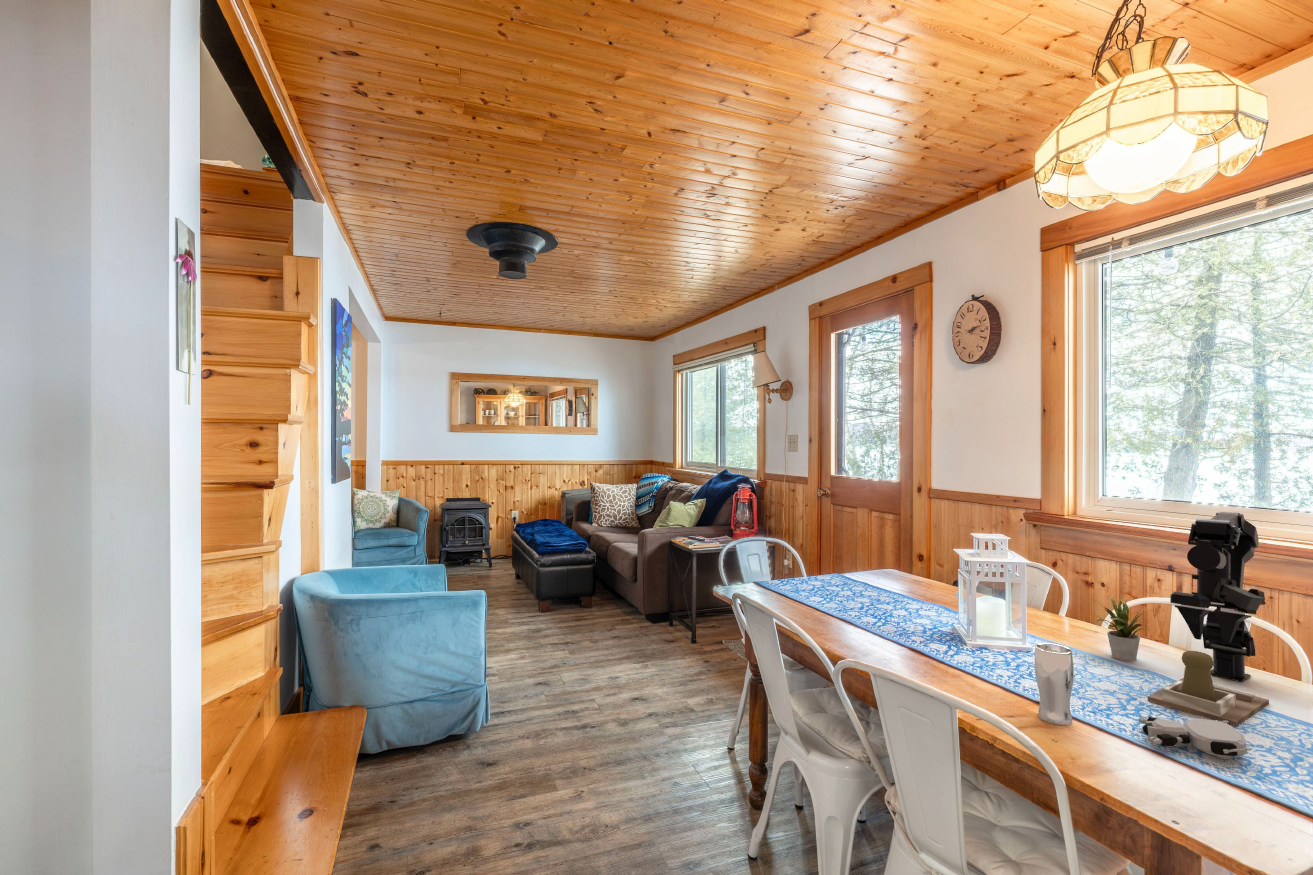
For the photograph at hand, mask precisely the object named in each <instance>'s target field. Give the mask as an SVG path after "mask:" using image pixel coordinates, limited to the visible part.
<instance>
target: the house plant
mask: <svg viewBox="0 0 1313 875" xmlns="http://www.w3.org/2000/svg"><path fill="white" fill-rule="evenodd" d="M1107 597H1108V598H1109V599H1110V602H1111V604H1112V607H1113V609H1114V612H1115V613H1114V612H1113V611H1112V610H1110V609H1109V608H1108V607H1106V606H1104V605H1103V603H1101V602H1100V601H1097V600H1095V599H1093V601H1095V602H1098V604H1099V603H1100V604H1101V606H1103V609H1101V610H1104V611H1106V612H1107V613H1108V614H1109V615H1110V616H1109V618H1110V620H1112V621H1113V622H1114V623H1113V622H1111V621H1109V620H1106V619H1104V618H1103V619H1102V618H1101V617H1100V616H1098V615H1095V614H1093V616H1096V617H1097V618H1099V619H1097V620H1096V621H1095V622H1094V623H1098V622H1102V621H1103V622H1104V623H1105V624H1106V625H1108V626H1109V630H1108V631H1107V632H1106V634H1107V638H1108V643H1109V647H1110V651H1111V652H1110V653H1111V656H1112V657H1113V658H1114V659H1117V660H1120V661H1126V662H1135V661H1137V656H1138V652H1139V646H1140V640H1141V636H1140V635H1139V634H1136V633H1137V632H1139V631H1141V630H1143V628H1139V627H1141V626H1143V624H1141V623H1138V622H1139V621H1141V619H1138V618H1140V616H1142V615H1143V614H1145V613H1148V610H1147V611H1145V612H1144V611H1143V610H1145V607H1143V608H1142V609H1140V610H1139V612H1138V613H1137V614H1136V615H1135V616H1134V617H1133V618H1132V619H1131V622H1130V623H1128V622H1129V620H1130V618H1129V615H1130V614H1129V613H1130V611H1129V606H1128V604H1127V602H1128V600H1126V601H1124V600H1122V598H1120V599H1119V600H1118V604H1117V603H1116V601H1115V600H1114V599H1113V598H1112V597H1111V596H1107ZM1089 600H1091V601H1092V599H1090V598H1089ZM1095 602H1094V604H1096V605H1097V603H1095ZM1117 605H1118V606H1117ZM1150 611H1153V610H1152V609H1151V610H1149V612H1150ZM1141 612H1142V613H1141ZM1144 621H1145V622H1146V620H1145V619H1143V622H1144ZM1108 623H1110V624H1108ZM1114 628H1115V629H1114ZM1137 628H1139V629H1137ZM1110 629H1112V630H1110ZM1147 630H1148V631H1150V629H1149V628H1147Z"/></svg>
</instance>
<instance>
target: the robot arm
mask: <svg viewBox="0 0 1313 875" xmlns="http://www.w3.org/2000/svg"><path fill="white" fill-rule="evenodd" d="M1187 540H1188V541H1187V544H1188V546H1193V547H1191V548H1190V549H1189V550H1188V552H1187V555H1186V558H1187V561H1188V563H1189V564H1190V565H1191V566H1192V567H1193V568H1195V569H1196V570H1197V571H1196V574H1191V578H1192V580H1196V592H1195V591H1192V592H1191V593H1188V592H1181V591H1174V592H1172V593H1171V594H1170V595H1169V596H1170V599H1169V600H1170V601H1169V603H1171V604H1173V606H1174V608H1175V609H1177V610H1178V612H1179V613H1180V614H1181V617H1182V618H1183V620H1184V621H1185V623H1186V625H1187V627H1188V629H1189V630H1190V633H1191V634H1192V636H1193V639H1195V640H1203V641H1202V642H1203V648H1204V649H1209V650H1212V659H1213V667H1212V669H1211V670H1210V672H1211V676H1215V677H1220V678H1222V679H1223V678H1224V679H1229V680H1232V681H1236V682H1241V683H1242V682H1245V681H1246V680H1248V679H1250V678H1251V676H1252V675H1251V674H1249V673H1246V668H1245V667H1246V666H1245V661H1246V660H1245V657H1249V658H1250V657H1256V650H1257V649H1256V644H1255V639H1254V637H1253V636H1252V634H1251V632H1250V631H1249V628H1248V626H1247V624H1246V621H1245V620H1246V619H1250V618H1252V617H1253V615H1257V611H1258V610H1259V608H1260V606H1265V605H1266V603H1267V602H1266V598H1265V596H1266V595H1265V592H1264V591H1262V590H1260V589H1257V588H1249V589H1248V590H1247V589H1243V587H1244V576H1245V566H1246V563H1247V562H1248V561H1250V560H1251V559H1252V558H1253V557H1255V550H1256V549H1258V548H1259V543H1260V542H1259V540H1260V539H1259V534H1258V531H1257V527H1256V526H1255V525H1253V524H1252V523H1250V521H1248V520H1246V519H1245V516H1244V514H1243V513H1240V512H1231V511H1230V512H1228V511H1219V512H1216V513H1215V515H1214V516H1213V517H1212V518H1210V519H1209V518H1208V519H1207V518H1197V519H1195V520H1194V522H1192V523H1191V527H1190V531H1189V536H1188V539H1187ZM1174 604H1175V605H1174ZM1210 607H1213V608H1215V609H1214V610H1209V608H1210ZM1205 617H1206V621H1205ZM1204 621H1205V623H1204Z"/></svg>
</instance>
